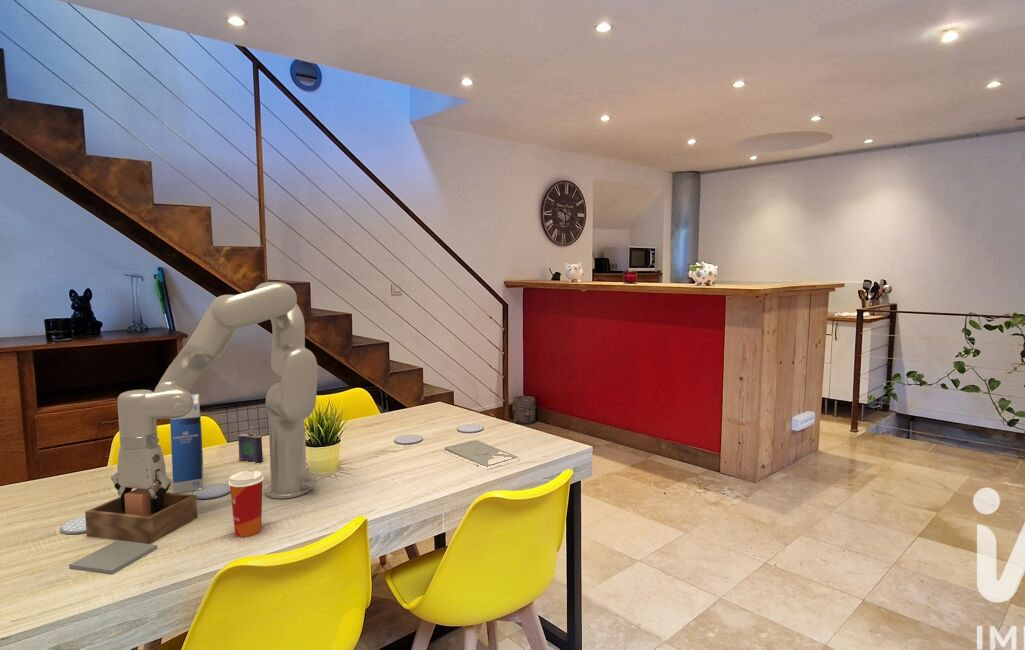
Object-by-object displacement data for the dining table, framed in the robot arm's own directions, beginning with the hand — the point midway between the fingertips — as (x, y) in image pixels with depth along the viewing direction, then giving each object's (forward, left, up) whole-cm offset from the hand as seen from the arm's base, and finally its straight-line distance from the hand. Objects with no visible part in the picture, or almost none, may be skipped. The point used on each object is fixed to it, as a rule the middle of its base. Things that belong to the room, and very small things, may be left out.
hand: (142, 510), depth 134 cm
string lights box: (+11, -26, -4) cm, 29 cm away
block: (0, 0, -1) cm, 1 cm away
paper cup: (-27, -3, -4) cm, 28 cm away
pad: (-7, +14, -4) cm, 16 cm away
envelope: (-67, -69, -5) cm, 96 cm away
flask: (+7, -48, -4) cm, 49 cm away
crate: (0, 0, -4) cm, 4 cm away
